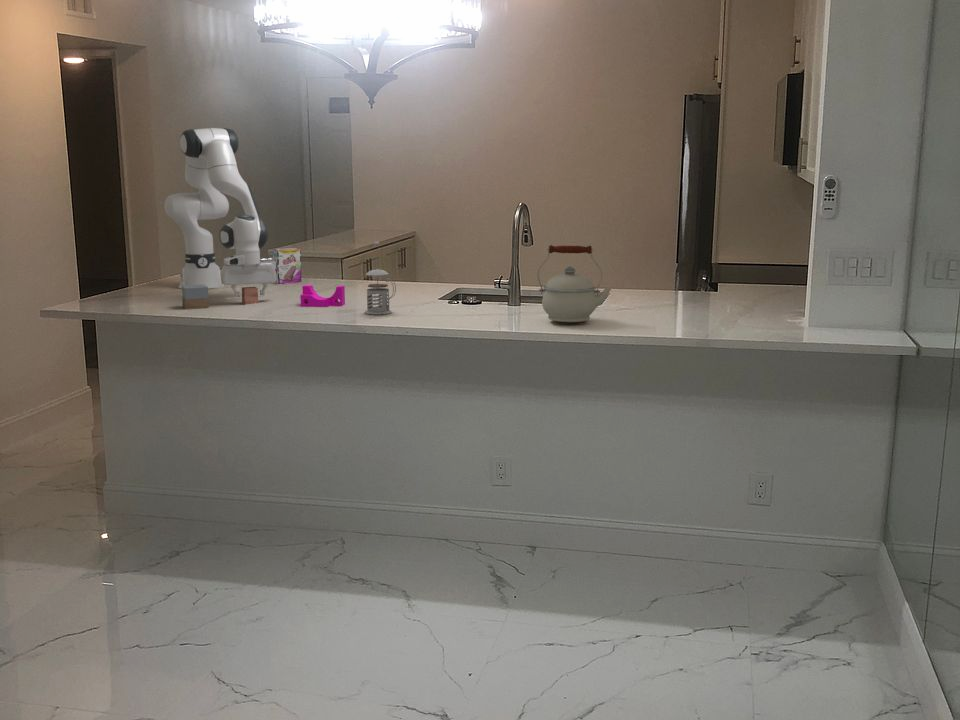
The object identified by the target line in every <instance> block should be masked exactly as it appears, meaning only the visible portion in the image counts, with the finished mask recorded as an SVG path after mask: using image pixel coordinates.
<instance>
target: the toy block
mask: <svg viewBox="0 0 960 720" xmlns="http://www.w3.org/2000/svg"><path fill="white" fill-rule="evenodd" d="M301 287H302V294H300V307H306V308H307V307H311V308H312V307H313V308H314V307H316V308H328V307H343V306H344V305H346V291H345V290H346V287H345V285H337V286H336V288H335V291H334V293H333V294H332V295H331V296H329V297H324V296H321V295H319V294H318V293H317V292H316V290H315V289H314V285H312V284H304V285H302V286H301Z"/></svg>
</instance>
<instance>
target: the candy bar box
mask: <svg viewBox="0 0 960 720" xmlns="http://www.w3.org/2000/svg"><path fill="white" fill-rule="evenodd" d="M301 251H302V250H301V248H296V247H290V248H273V249H272V259H273V260H275V262H276V269H275V271H276V278H277V280H276V282H275V283H276V284H275V285H278V284H281V285H286V284H285V283H290V284H298V283H302V254H301V253H302V252H301ZM273 260H272V261H273Z"/></svg>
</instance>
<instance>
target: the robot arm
mask: <svg viewBox="0 0 960 720" xmlns="http://www.w3.org/2000/svg"><path fill="white" fill-rule="evenodd" d="M179 144H180V145H179V146H180V149H181V152H182V153H183V154H184V155H185V165H184V179H185V182H186V183H187V184H188V186H190V187H192V188H195V189H197V190H198V192H178V193H174V194H169V195H168V196H167V197H166V198H165V201H164V205H163V206H164V210H165V211H164V212H165V213H166V215H167V216H168V218H170V219H171V220H173V221H174V222H175V224H177V225H178V227H179V228H180V229H181V232H182V233H183V237H184V243H185V244H184V245H185V246H184V247H185V253H184V254H185V255H184V262H185V265H184V267H182V270H181V271H180V272H179V278H181V281H180V283H179V284H178V289H179V290H180V289H181V290H182V286H189V285H205V286H207V287H208V290H209V289H218V288H220V287H225V286H231V289H232V291H233V292H234V297H236V298H238V297H239V298H240V297H241V295H240V294H241V293H240V291H237V286H238V285H257V284H259V285H260V284H262V286H263V287H262V289H260V290H259V295H260V296H265V294H266V292H265V291H266V290H267V288H268V284H274V283H275V282H276V280H277V278H276V271H275V269H276V262H275V260H273V257H268V258H261V251H260V250H261V249H262V248H263V247H264V246H265V245H267V242H268V241H269V233H268V229H267V227H266V225H265V223H264V221H263V219H262V217H261V213H260V210H259V208H258V205H257V201H256V199H255V196H254V194H253V191H252V189H251V187H250V184H249V183H248V182H246V181H245V180H244V179H243V177H242V175H241V174H240V172H239V169H238V165H237V164H238V163H237V160H236V156H235V154H236V153H237V151H238V150H239V137H238V135H237V133H236V132H235V130H233V129H231V128H227V127H226V128H224V127H223V128H220V127H207V128H197V129H193V128H190V129H186V130H183V132H182V133H181V134H180V141H179ZM226 195H228V196H231V197H232V198H234V199H236V200H237V201H239V203H240V204H241V206H242V209H243V211H244V214H239V215H236V216H235V217H234V220H232V221H231V222H229V223H227V224H224V225H223V226H222V227H221V228H220V230H219V242H220V243H221V245H222V246H223V247H224V248H226V249H229V250H235V254H233V255H231V256H228V257H225V258H223V261H222V262H223V264H224V265H223V266H222V268H221V271H220V266H219V265H217V264H216V254H215V252H214V249H215V248H214V238H213V237H214V236H213V234H212V233H211V232H210V231H209V230H208V229H206V228H204V227H201V226H200V225H199V223H198V221H199V220H200V221H201V220H205V221H206V220H217V219H222V218H225V217H226V216H227V214H228V213H229V209H230V202H229V200H228V198H227V197H226Z"/></svg>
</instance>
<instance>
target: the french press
mask: <svg viewBox="0 0 960 720" xmlns="http://www.w3.org/2000/svg"><path fill="white" fill-rule="evenodd" d="M373 244H374V246H380V242H379V241H375V242H374V243H373ZM378 265H379V264H378V259H376V268H375V269H371V270H370V271H367V273H365V275H366V276H367V277H376V281H377V283H370V284H368V285H367V288H368V289H366V301H367V303H366V305H367V309H366V310H365V311H364V314H367V315H388V314H391V313H393V312H392V310H390V299H392V298H393V297H394V296H395V295H396V292H397V286H396V283H395V281H394V280H393V279H392V278H390V277H389V278H385V282H386V283H379V277H387V276H389V275H390V273H388V272H387V271H386V270H383V269H379V268H378V267H379V266H378ZM389 282H390V283H391V285H392V294H391V296H390V289H389V288H388V287H389V285H388V284H387V283H389Z"/></svg>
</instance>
